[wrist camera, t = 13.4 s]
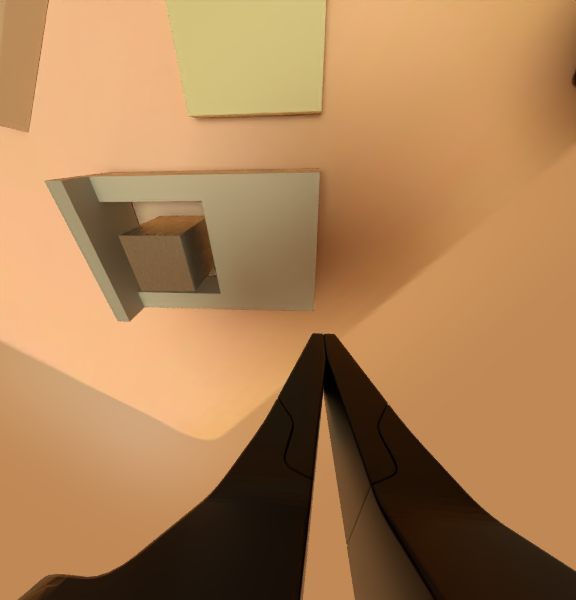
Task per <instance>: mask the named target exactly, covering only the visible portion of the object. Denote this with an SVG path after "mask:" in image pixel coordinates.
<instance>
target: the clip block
mask: <svg viewBox="0 0 576 600" xmlns="http://www.w3.org/2000/svg"><path fill="white" fill-rule="evenodd" d="M119 239H120V241H121V243H122V246H123V248H124V251H125V253H126V255H127V258H128V260H129V262H130V265H131V267H132V270H133V272H134V274H135V277H136V279H137V282H138V284H139V286H140V289H141V290H147V291H196V289H197V288H198V287H199V285H200V284H201V283H202V282H203V280H204V279H205V278H206V277H207V275H208V274H209V273H210V271H211V270H212V269H213V268H214V266H215V264H214V259H213V254H212V249H211V244H210V239H209V235H208V230H207V225H206V220H205V216H159V217H157V218H155V219H153V220H151V221H148V222H146V223H144V224H142V225H140V226H138V227H136V228H134V229H131V230H129V231H127V232H125V233H123V234H121V235H119Z"/></svg>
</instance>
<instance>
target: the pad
mask: <svg viewBox="0 0 576 600" xmlns="http://www.w3.org/2000/svg"><path fill="white" fill-rule="evenodd" d="M165 1H166V6H167V11H168V16H169V21H170V26H171V31H172V36H173V41H174V46H175V51H176V56H177V61H178V66H179V71H180V77H181V82H182V87H183V92H184V97H185V102H186V107H187V112H188V116H190V117H194V118H211V117H239V116H266V115H293V114H320V113H321V110H322V87H323V64H324V40H325V17H326V0H165Z"/></svg>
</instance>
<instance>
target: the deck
mask: <svg viewBox="0 0 576 600" xmlns="http://www.w3.org/2000/svg"><path fill="white" fill-rule="evenodd" d="M45 183H46V185H47V187H48V189H49V191H50V193H51V195H52V196H53V198H54V200H55V202H56V204H57V206H58V208H59V210H60V212H61V214H62V216H63V217H64V219H65V221H66V223H67V225H68V227H69V229H70V231H71V233H72V235H73V237H74V238H75V240H76V242H77V244H78V246H79V248H80V250H81V252H82V254H83V256H84V258H85V260H86V261H87V263H88V265H89V267H90V269H91V271H92V273H93V275H94V277H95V279H96V281H97V282H98V284H99V286H100V288H101V290H102V292H103V294H104V296H105V298H106V300H107V302H108V304H109V305H110V307H111V309H112V311H113V313H114V315H115V317H116V319H117V321H127V322H130V321H131V320H132V319H133V318H134V317H135V316H136V315H137V314H138V313H139V312H140V311H141V310H142V309H143V308H144V307H158V308H199V309H241V310H282V311H314V296H315V273H316V251H317V229H318V207H319V185H320V171H319V169H318V168H316V169H266V170H215V171H165V172H115V173H101V174H93V175H85V176H77V177H70V178H62V179H54V180H46V181H45ZM149 201H202V206H203V210H204V215H205V220H206V225H207V230H208V235H209V239H210V244H211V249H212V254H213V259H214V264H215V268H216V273H217V276H207V277H206V278H205V279H204V280H203V282H202V283H201V284H200V285H199V287H198V288H197V289H196V291H147V290H141V289H140V286H139V284H138V282H137V279H136V277H135V274H134V272H133V270H132V267H131V265H130V262H129V260H128V258H127V255H126V253H125V251H124V248H123V246H122V243H121V241H120V239H119V235H121V234H123V233H125V232H127V231H129V230H131V229H134V228H136V227H138V226H139V223H138V220H137V217H136V215H135V212H134V209H133V206H132V203H131V202H149Z"/></svg>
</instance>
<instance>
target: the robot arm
mask: <svg viewBox="0 0 576 600" xmlns="http://www.w3.org/2000/svg"><path fill="white" fill-rule="evenodd" d="M575 84H576V76H575ZM323 393H324V400H325V406H326V413H327V420H328V426H329V432H330V439H331V445H332V452H333V458H334V465H335V472H336V478H337V484H338V491H339V498H340V504H341V511H342V517H343V524H344V530H345V537H346V543H347V545H348V546H347V550H348V557H349V563H350V570H351V576H352V583H353V589H354V595H355V600H576V571H575V570H573V569H572V568H570V567H568V566H567V565H565V564H564V563H562V562H561V561H559V560H558V559H556V558H554V557H553V556H551V555H550V554H548V553H547V552H545V551H543V550H542V549H540V548H539V547H537V546H536V545H534V544H533V543H531V542H530V541H528V540H527V539H525V538H523V537H522V536H520V535H519V534H517V533H516V532H514V531H513V530H511V529H509V528H508V527H506V526H505V525H503V524H502V523H500V522H499V521H498V520H497V519H495V518H494V517H493V516H491V515H490V514H489V513H488V512H487V511H485V510H484V509H483V508H482V507H481V506H480V505H479V504H478V503H477V502H475V501H474V500H473V499H472V498H471V497H470V496H469V494H468V493H466V491H465V490H464V489H463V488H462V487H461V486H460V485H459V484H458V483H457V482H456V481H455V480H454V478H453V477H452V476H451V475H450V474H449V473H448V472H447V471H446V470H445V469H444V468H443V467H442V466H441V464H440V463H439V462H438V461H437V460H436V459H435V458H434V457H433V456H432V455H431V454H430V453H429V452H428V451H427V449H426V448H425V447H424V446H423V445H422V444H421V443H420V442H419V440H418V439H417V438H416V437H415V436H414V435H413V434H412V433H411V431H410V430H409V429H408V428H407V427H406V426H405V424H404V423H403V422H402V421H401V419H400V418H399V417H398V416H397V414H396V413H395V412H394V411H393V409H392V408H391V407H390V406H389V405H388V403H387V401H386V400H385V399H384V398H383V396H382V395H381V394H380V392H379V391H378V390H377V388H376V387H375V386H374V385H373V383H372V382H371V381H370V379H369V378H368V377H367V375H366V374H365V373H364V372H363V370H362V369H361V368H360V366H359V365H358V364H357V363H356V361H355V360H354V359H353V357H352V356H351V355H350V353H349V352H348V351H347V349H346V348H345V347H344V346H343V344H342V343H341V342H340V340H339V339H338V338H337V336H336V335H335V334H324V335H323V334H319V333H313V334H312V335H311V337H310V339H309V341H308V343H307V344H306V346H305V348H304V350H303V352H302V354H301V355H300V357H299V359H298V361H297V363H296V365H295V367H294V368H293V370H292V372H291V374H290V376H289V378H288V379H287V381H286V383H285V385H284V387H283V389H282V391H281V392H280V394H279V396H278V399H277V400H276V401H275V403H274V405H273V407H272V409H271V410H270V412H269V414H268V415H267V418H266V419H265V420H264V422H263V424H262V425H261V427H260V428H259V430H258V431H257V433H256V434H255V436H254V437H253V438H252V440H251V441H250V442H249V444H248V445H247V447H246V448H245V449H244V451H243V452H242V453H241V455H240V456H239V458H238V459H237V461H236V462H235V463H234V465H233V466H232V467H231V469H230V470H229V471H228V473H227V474H226V475H225V477H224V478H223V479H222V481H221V482H220V483H219V484H218V486H217V487H216V488H215V489H214V490H213V491H212V493H210V494H209V495H208V496H207V497H206V498H205V499H204V500H203V501H202V502H200V503H199V504H198V505H197V506H196V507H194V508H193V509H192V510H191V511H189V512H188V513H187V514H186V515H185V516H184V517H182V518H181V519H180V520H179V521H177V522H176V523H175V524H174V525H172V526H171V527H170V528H169V529H167V530H166V531H165V532H164V533H163V534H161V535H160V536H159V537H158V538H157V539H155V540H154V541H153V542H152V543H150V544H149V545H148V546H147V547H145V548H144V549H143V550H142V551H141V552H139V553H138V554H137V555H136V556H134V557H133V558H132V559H130V560H129V561H127V562H126V563H125V564H123V565H122V566H120V567H118V568H116V569H114V570H112V571H110V572H108V573H105V574H102V575H99V576H93V577H84V576H74V575H65V574H54V575H48V576H46V577H44V578H43V579H42V580H40V581H39V582H38V583H37V584H35V585H34V586H33V587H32V588H31V589H30V590H29V591H28V592H26V593H25V594H24V595H23V596H22V597H20V598H19V599H18V600H303V591H304V582H305V571H306V561H307V551H308V540H309V531H310V520H311V509H312V500H313V490H314V480H315V469H316V459H317V448H318V439H319V429H320V419H321V408H322V398H323Z"/></svg>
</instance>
